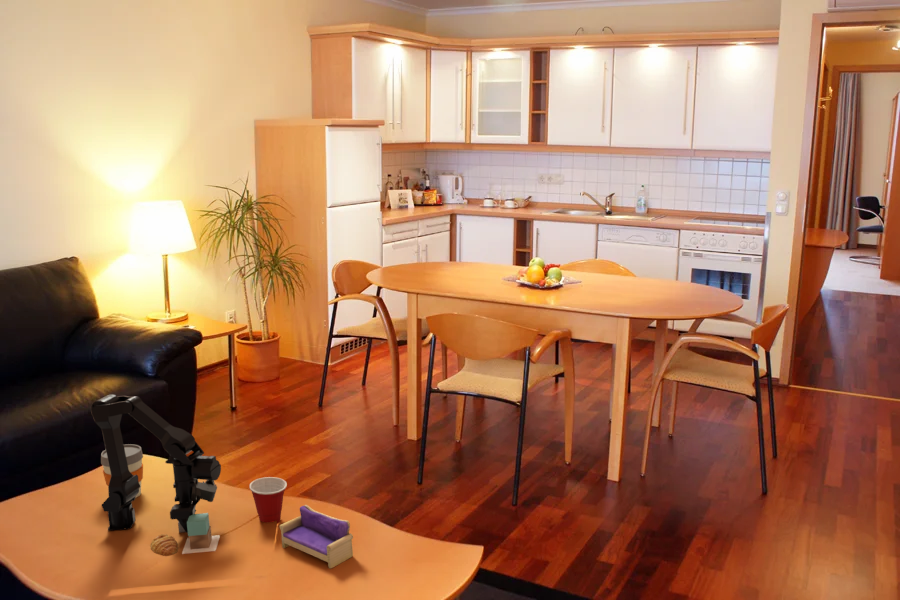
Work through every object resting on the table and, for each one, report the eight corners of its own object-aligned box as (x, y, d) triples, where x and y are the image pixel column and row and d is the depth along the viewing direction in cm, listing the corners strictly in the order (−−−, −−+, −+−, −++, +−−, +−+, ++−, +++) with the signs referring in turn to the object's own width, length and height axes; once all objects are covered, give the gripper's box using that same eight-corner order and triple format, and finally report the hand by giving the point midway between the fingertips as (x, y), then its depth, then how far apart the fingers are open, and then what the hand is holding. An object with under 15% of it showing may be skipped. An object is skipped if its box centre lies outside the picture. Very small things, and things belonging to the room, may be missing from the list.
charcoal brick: (179, 535, 239) (178, 522, 239) (183, 527, 244) (181, 515, 243) (197, 534, 240) (195, 521, 239) (200, 526, 245) (199, 513, 244)
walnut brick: (190, 549, 229) (189, 536, 228) (193, 540, 234) (192, 527, 233) (209, 547, 230) (207, 534, 229) (211, 539, 234) (210, 526, 234)
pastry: (184, 555, 229) (183, 542, 228) (160, 563, 225) (159, 550, 224) (171, 542, 236) (170, 530, 235) (148, 550, 232) (146, 538, 231)
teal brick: (188, 536, 228) (186, 522, 227) (191, 527, 233) (189, 514, 232) (206, 534, 229) (205, 521, 228) (209, 526, 234) (208, 512, 233)
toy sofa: (280, 547, 232) (277, 513, 229) (304, 535, 238) (301, 502, 236) (331, 570, 218) (328, 534, 216) (355, 557, 225) (353, 522, 223)
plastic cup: (277, 532, 240) (274, 493, 238) (245, 527, 244) (241, 488, 241) (296, 515, 250) (293, 478, 248) (265, 511, 254) (262, 474, 251)
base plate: (182, 557, 227) (181, 553, 227) (187, 541, 236) (187, 538, 236) (215, 554, 228) (215, 550, 228) (220, 539, 237) (220, 535, 237)
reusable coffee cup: (111, 488, 274) (106, 445, 271) (151, 485, 275) (146, 442, 272) (100, 505, 261) (94, 460, 258) (141, 502, 263) (136, 457, 260)
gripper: (208, 488, 231) (213, 540, 234) (218, 462, 249) (222, 511, 252) (167, 491, 229) (172, 544, 232) (179, 465, 247) (184, 514, 250)
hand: (189, 527), depth 242 cm, fingers closed on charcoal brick, 5 cm apart
